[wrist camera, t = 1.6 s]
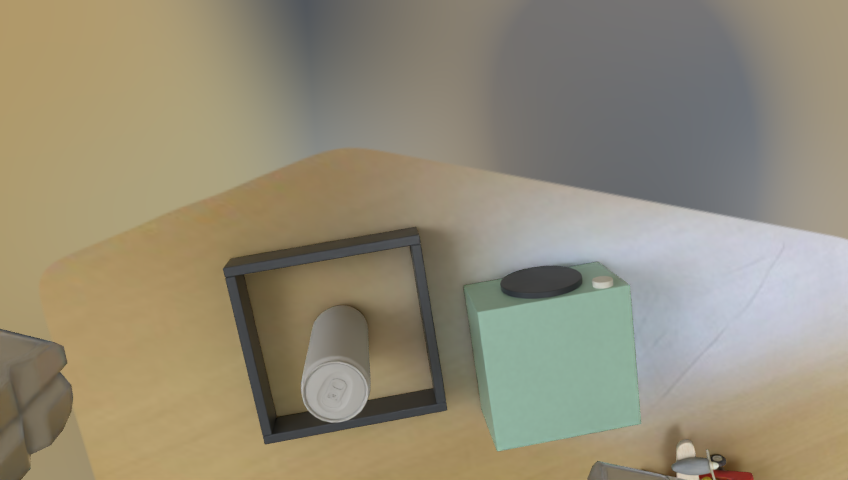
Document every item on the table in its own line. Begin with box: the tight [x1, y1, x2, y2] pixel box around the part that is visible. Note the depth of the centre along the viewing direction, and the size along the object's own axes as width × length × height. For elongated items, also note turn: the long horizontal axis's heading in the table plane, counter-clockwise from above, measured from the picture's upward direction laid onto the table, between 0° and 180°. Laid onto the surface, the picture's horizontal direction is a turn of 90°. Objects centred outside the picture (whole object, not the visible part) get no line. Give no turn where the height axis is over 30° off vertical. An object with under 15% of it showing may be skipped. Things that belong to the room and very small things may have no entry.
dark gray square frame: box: [223, 227, 447, 444], centre depth 54 cm, size 16×16×3 cm
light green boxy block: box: [464, 262, 641, 451], centre depth 54 cm, size 12×12×7 cm
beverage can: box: [301, 305, 370, 423], centre depth 50 cm, size 5×5×12 cm
